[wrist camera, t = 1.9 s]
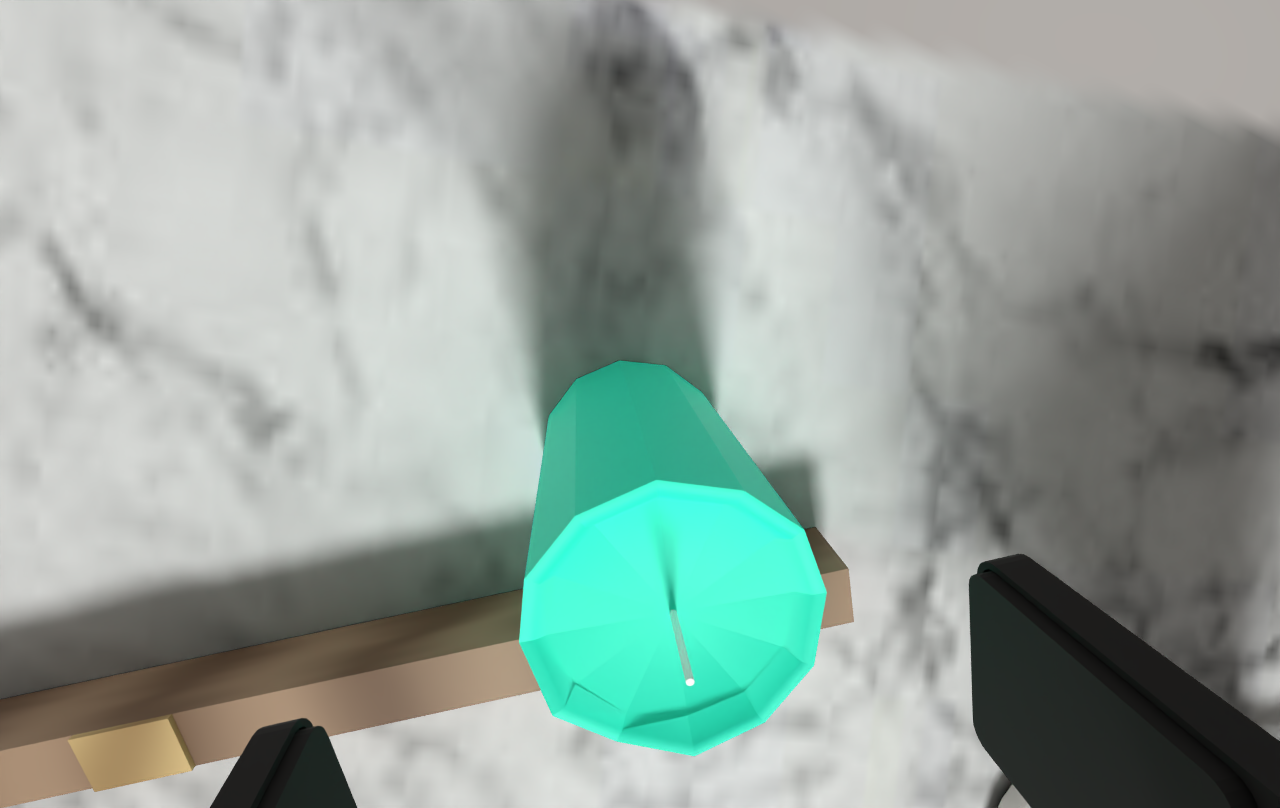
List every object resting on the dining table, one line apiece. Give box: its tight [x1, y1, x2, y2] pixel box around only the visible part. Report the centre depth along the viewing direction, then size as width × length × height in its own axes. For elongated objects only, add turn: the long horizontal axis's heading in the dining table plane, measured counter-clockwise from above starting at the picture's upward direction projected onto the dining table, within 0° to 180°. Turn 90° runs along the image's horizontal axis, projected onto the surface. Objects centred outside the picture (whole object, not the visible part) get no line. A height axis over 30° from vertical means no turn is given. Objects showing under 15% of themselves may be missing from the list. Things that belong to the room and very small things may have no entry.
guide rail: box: [0, 527, 854, 808], centre depth 22 cm, size 30×2×3 cm, turn 100°
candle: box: [519, 360, 827, 756], centre depth 16 cm, size 6×6×12 cm
